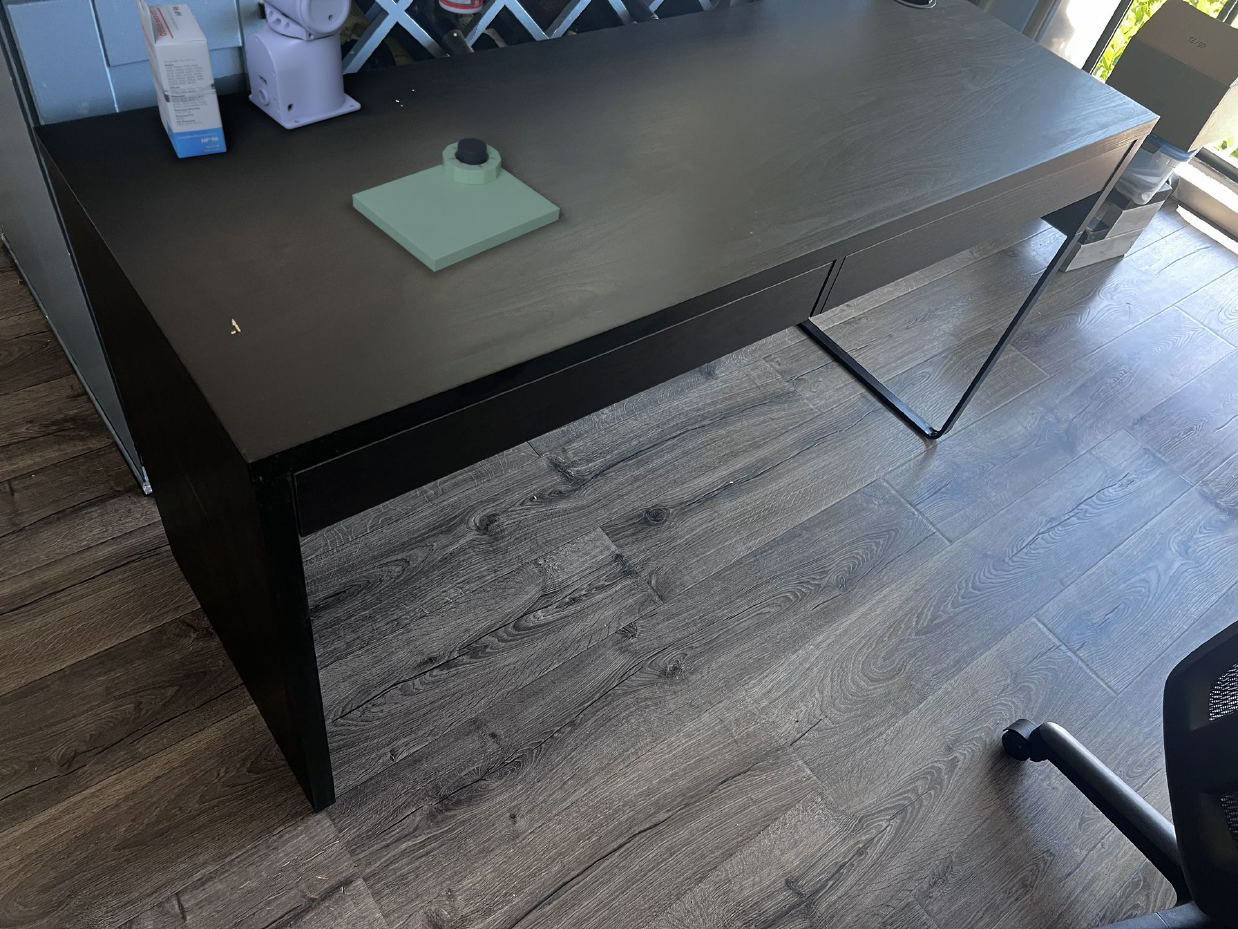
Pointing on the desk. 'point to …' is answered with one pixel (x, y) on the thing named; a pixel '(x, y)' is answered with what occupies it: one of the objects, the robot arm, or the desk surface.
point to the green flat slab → (455, 209)
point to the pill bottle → (462, 6)
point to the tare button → (472, 151)
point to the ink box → (182, 78)
